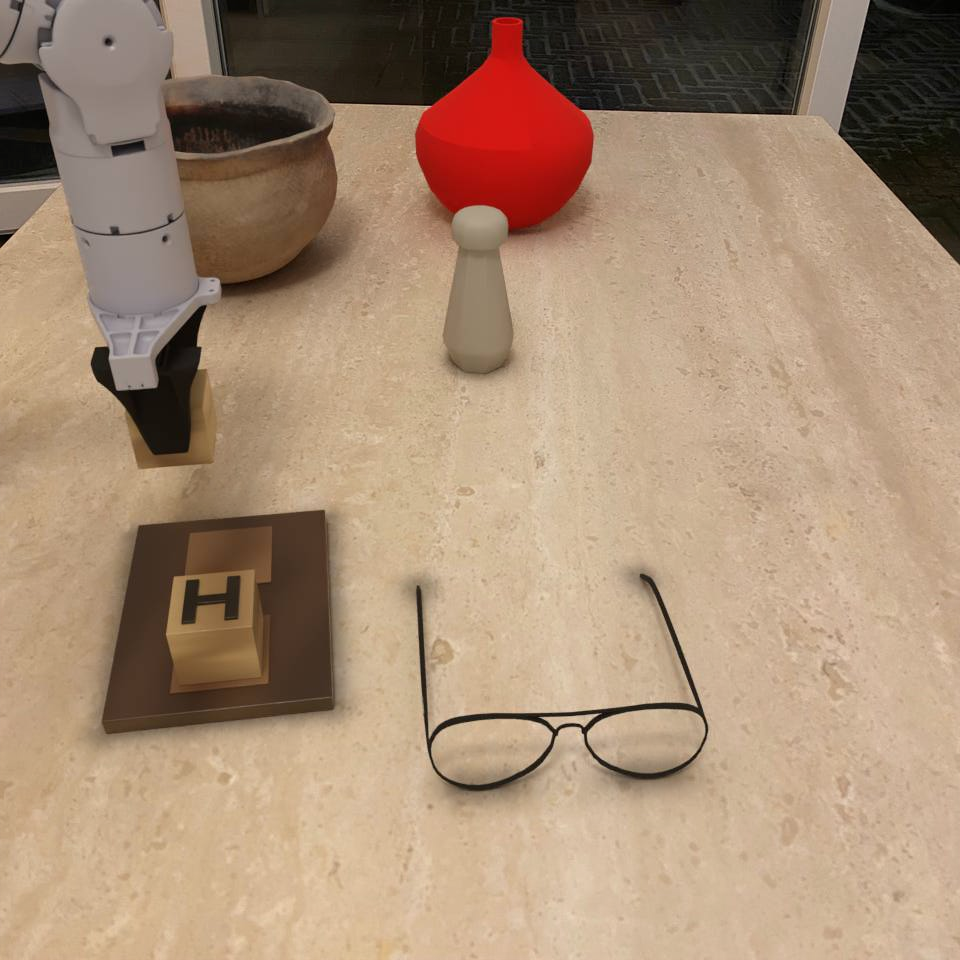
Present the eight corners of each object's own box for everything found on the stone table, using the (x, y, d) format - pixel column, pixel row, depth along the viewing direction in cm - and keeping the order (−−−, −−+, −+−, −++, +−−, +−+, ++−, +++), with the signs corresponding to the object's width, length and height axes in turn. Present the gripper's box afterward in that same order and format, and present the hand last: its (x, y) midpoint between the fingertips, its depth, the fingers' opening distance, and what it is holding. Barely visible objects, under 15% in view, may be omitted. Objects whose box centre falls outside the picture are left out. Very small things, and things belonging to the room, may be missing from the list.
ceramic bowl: (115, 228, 103) (81, 77, 94) (325, 207, 108) (312, 61, 98) (116, 332, 86) (74, 161, 77) (365, 301, 91) (353, 136, 82)
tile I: (138, 469, 59) (123, 411, 57) (146, 427, 63) (132, 370, 60) (213, 463, 60) (202, 405, 57) (217, 422, 63) (207, 365, 61)
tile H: (179, 686, 54) (164, 632, 51) (185, 627, 57) (173, 573, 55) (261, 677, 55) (251, 623, 52) (263, 619, 58) (254, 566, 55)
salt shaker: (435, 348, 85) (432, 200, 77) (499, 338, 86) (503, 192, 78) (454, 384, 80) (454, 231, 72) (522, 373, 82) (528, 222, 74)
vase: (622, 212, 108) (642, 22, 96) (508, 265, 97) (515, 59, 85) (497, 167, 118) (501, -10, 106) (381, 211, 107) (371, 20, 95)
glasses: (426, 795, 50) (422, 722, 47) (416, 609, 63) (414, 543, 60) (705, 776, 51) (718, 704, 48) (641, 597, 64) (647, 532, 61)
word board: (105, 734, 53) (100, 720, 52) (141, 536, 65) (137, 523, 65) (333, 709, 54) (332, 696, 54) (326, 520, 67) (324, 507, 66)
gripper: (197, 270, 47) (237, 495, 55) (214, 159, 58) (245, 360, 67) (41, 279, 46) (105, 506, 54) (89, 165, 57) (136, 367, 66)
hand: (174, 427), depth 60 cm, fingers closed on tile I, 4 cm apart
